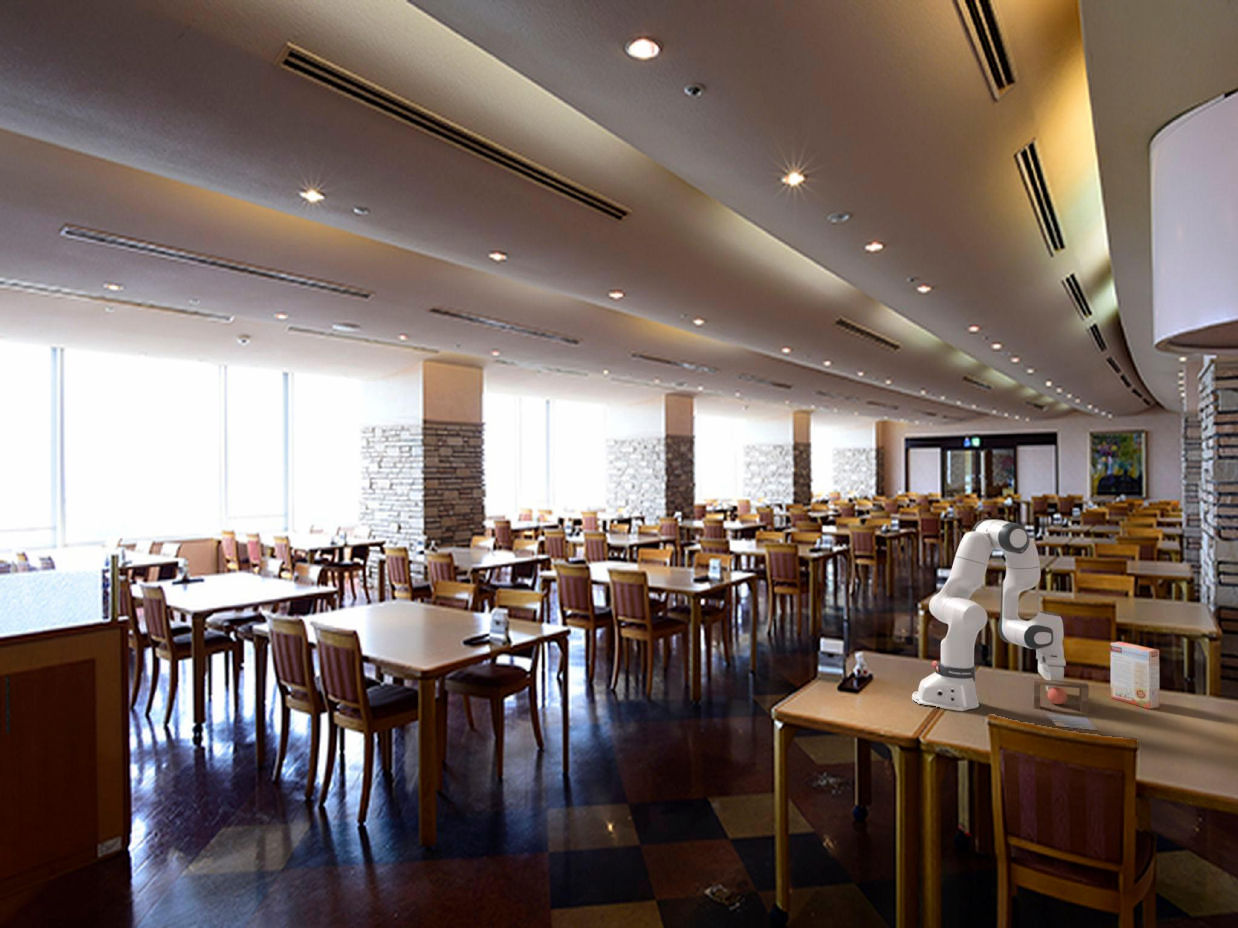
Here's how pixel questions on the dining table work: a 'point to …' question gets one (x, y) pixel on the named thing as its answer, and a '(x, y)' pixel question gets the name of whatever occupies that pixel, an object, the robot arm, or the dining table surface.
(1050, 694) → the ball
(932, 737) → the dining table surface
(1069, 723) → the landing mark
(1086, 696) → the grey rectangular frame
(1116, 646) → the cracker box
